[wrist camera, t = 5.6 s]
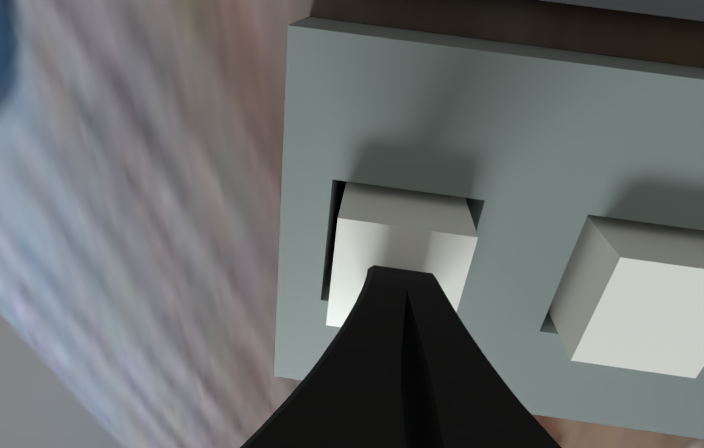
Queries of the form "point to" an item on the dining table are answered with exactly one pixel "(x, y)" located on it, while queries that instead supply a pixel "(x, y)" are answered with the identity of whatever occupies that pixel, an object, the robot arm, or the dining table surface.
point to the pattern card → (648, 7)
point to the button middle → (634, 297)
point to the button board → (491, 189)
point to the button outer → (398, 241)
